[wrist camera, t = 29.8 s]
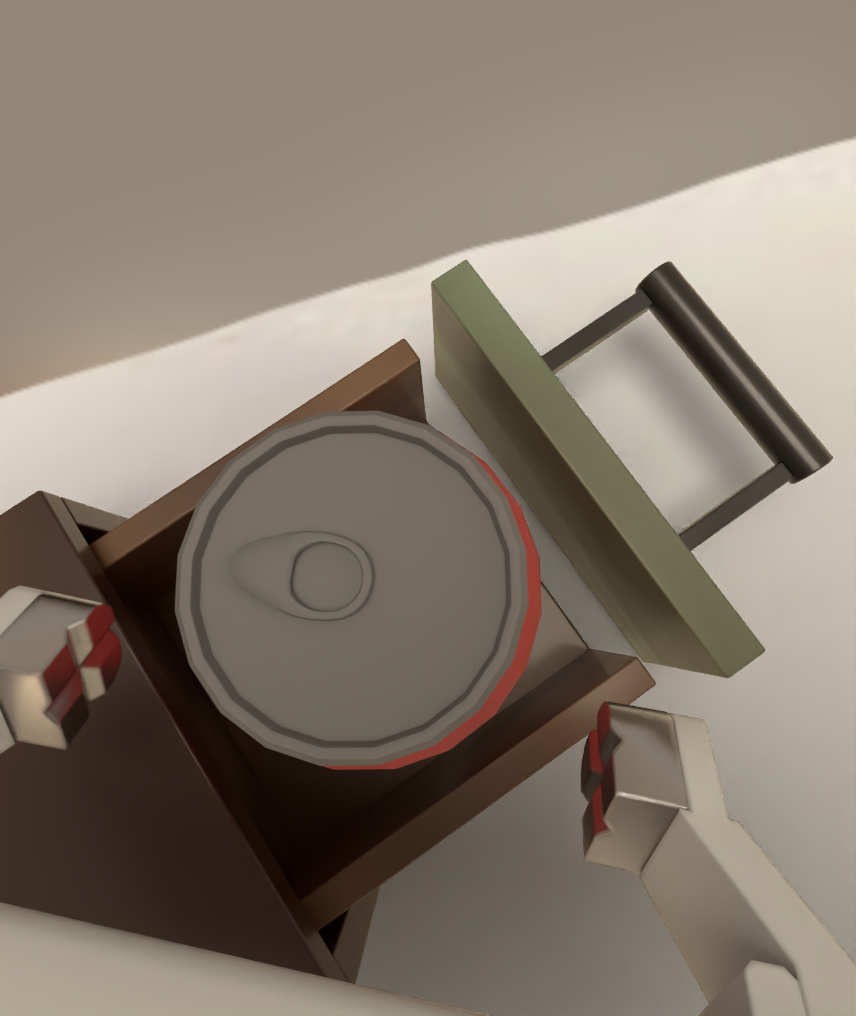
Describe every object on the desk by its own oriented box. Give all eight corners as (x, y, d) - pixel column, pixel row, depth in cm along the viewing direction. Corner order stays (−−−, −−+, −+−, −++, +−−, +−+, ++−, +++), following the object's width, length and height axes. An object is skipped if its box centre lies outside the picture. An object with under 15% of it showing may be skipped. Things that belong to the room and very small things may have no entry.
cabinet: (181, 535, 25) (38, 488, 16) (386, 863, 23) (348, 1014, 14) (-195, 784, 24) (-566, 878, 15) (-17, 1156, 21) (-330, 1517, 13)
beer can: (321, 493, 23) (186, 353, 11) (512, 519, 22) (585, 404, 11) (287, 688, 22) (96, 768, 10) (487, 719, 21) (537, 840, 9)
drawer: (605, 262, 25) (664, 128, 18) (824, 531, 23) (980, 494, 16) (125, 581, 24) (-5, 564, 17) (316, 899, 22) (256, 1026, 15)
